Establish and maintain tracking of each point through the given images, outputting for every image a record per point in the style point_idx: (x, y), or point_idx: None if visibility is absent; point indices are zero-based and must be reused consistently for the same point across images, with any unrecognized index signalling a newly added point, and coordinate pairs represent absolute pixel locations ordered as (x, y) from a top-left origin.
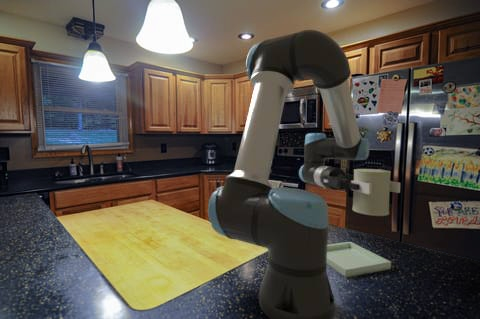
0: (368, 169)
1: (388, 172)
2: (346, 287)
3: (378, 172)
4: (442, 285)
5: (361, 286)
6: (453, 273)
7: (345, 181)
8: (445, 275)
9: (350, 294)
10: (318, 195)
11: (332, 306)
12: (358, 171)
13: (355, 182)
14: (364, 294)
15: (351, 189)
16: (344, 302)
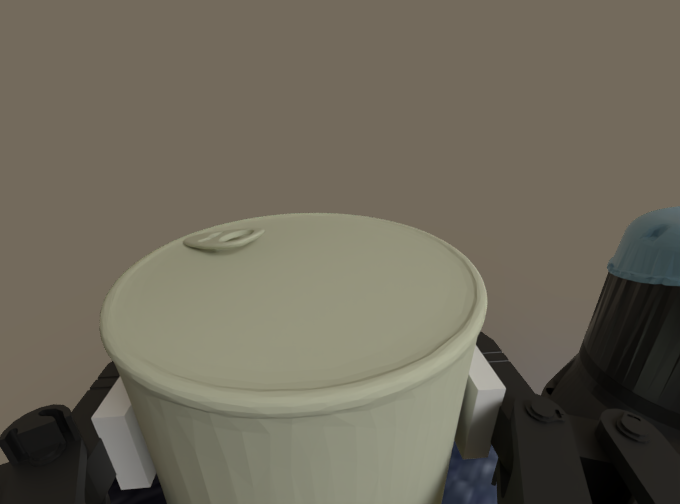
0: (189, 351)
1: (275, 217)
2: (490, 487)
3: (354, 217)
4: None
5: (445, 483)
6: (114, 494)
7: (567, 427)
8: (154, 488)
9: (487, 457)
10: (674, 225)
11: (547, 383)
12: (467, 263)
13: (475, 353)
14: (452, 451)
15: (484, 444)
16: None
